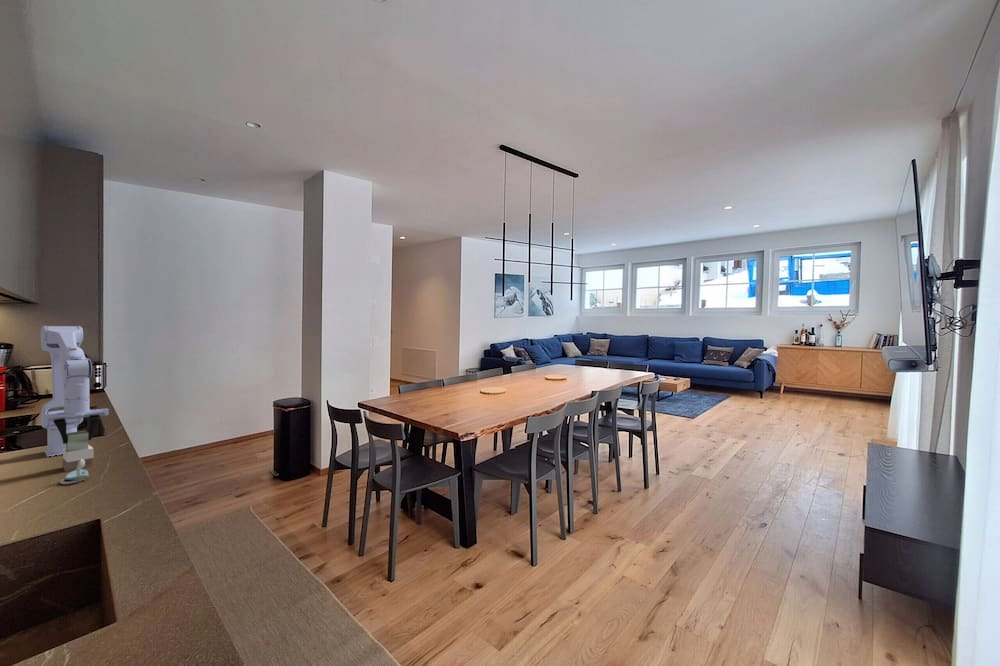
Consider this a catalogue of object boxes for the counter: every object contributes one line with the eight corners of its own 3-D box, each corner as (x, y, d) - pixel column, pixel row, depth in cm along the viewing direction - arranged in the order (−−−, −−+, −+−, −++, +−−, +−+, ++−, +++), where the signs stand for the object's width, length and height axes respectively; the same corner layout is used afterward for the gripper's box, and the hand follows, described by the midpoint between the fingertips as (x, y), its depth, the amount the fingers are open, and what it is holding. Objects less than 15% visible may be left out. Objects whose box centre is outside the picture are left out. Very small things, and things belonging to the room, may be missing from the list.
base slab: (62, 468, 134) (62, 458, 134) (89, 463, 139) (88, 454, 139) (65, 472, 130) (65, 462, 130) (92, 467, 135) (92, 458, 135)
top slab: (63, 458, 134) (63, 449, 134) (89, 454, 139) (89, 444, 139) (66, 462, 131) (66, 452, 130) (93, 457, 135) (93, 448, 135)
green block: (66, 449, 134) (66, 433, 134) (85, 446, 137) (85, 430, 137) (68, 451, 131) (68, 435, 131) (88, 448, 135) (88, 432, 135)
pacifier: (60, 488, 119) (89, 481, 123) (58, 465, 118) (88, 460, 123) (59, 481, 124) (88, 475, 128) (58, 459, 123) (87, 454, 128)
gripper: (44, 402, 126) (45, 448, 126) (110, 396, 137) (110, 438, 137) (42, 399, 130) (42, 444, 131) (106, 394, 142) (106, 435, 142)
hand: (77, 441), depth 134 cm, fingers open, 5 cm apart
